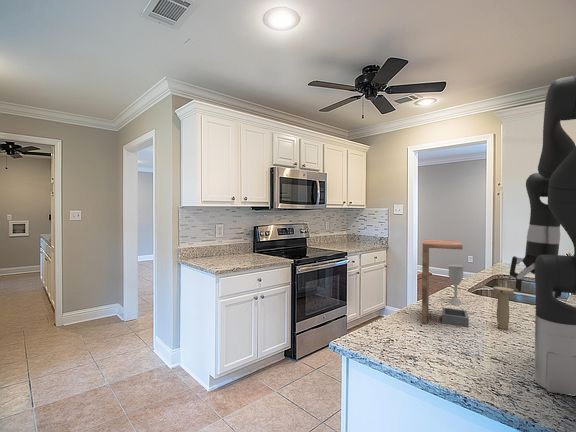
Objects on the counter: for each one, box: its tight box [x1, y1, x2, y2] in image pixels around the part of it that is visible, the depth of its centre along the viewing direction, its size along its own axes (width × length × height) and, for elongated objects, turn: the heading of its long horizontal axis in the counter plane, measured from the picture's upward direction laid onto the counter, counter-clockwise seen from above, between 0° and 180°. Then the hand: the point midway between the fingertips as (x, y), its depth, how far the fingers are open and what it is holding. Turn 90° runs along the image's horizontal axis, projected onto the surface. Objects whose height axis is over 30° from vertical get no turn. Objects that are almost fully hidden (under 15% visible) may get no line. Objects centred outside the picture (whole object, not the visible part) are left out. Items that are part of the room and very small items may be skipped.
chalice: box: [447, 264, 465, 306], centre depth 148 cm, size 7×7×18 cm
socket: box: [441, 307, 470, 328], centre depth 124 cm, size 10×9×4 cm
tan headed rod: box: [492, 286, 515, 330], centre depth 117 cm, size 5×6×15 cm
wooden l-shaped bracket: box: [421, 239, 463, 325], centre depth 126 cm, size 18×14×32 cm
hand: (537, 294), depth 93 cm, fingers open, 8 cm apart
